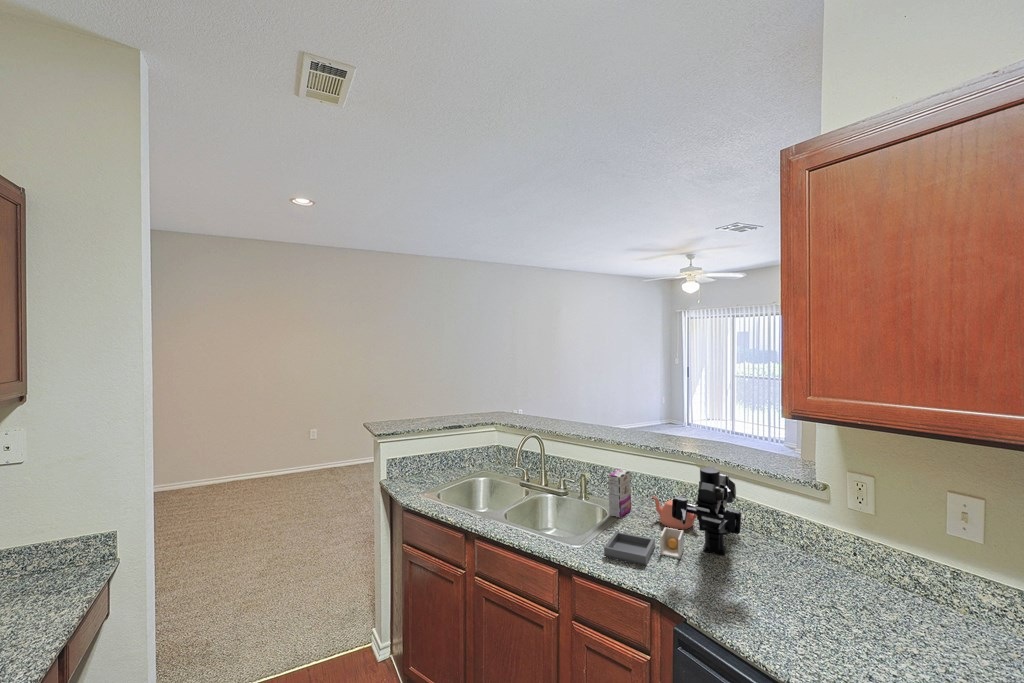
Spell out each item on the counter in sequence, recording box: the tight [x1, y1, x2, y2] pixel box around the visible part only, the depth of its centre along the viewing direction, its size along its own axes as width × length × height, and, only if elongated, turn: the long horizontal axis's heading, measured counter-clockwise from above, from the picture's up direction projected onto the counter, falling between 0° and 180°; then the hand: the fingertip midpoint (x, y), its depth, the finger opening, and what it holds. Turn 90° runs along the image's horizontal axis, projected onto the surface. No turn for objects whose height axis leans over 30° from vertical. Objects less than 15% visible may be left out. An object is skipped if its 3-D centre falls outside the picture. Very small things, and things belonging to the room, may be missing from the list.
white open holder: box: [659, 526, 685, 560], centre depth 144 cm, size 8×6×6 cm
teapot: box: [651, 494, 697, 530], centre depth 168 cm, size 12×18×10 cm
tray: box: [603, 531, 656, 567], centre depth 144 cm, size 14×13×3 cm
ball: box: [668, 538, 678, 549], centre depth 145 cm, size 3×3×3 cm
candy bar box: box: [608, 468, 632, 519], centre depth 179 cm, size 11×5×16 cm, turn 143°
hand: (700, 526), depth 124 cm, fingers open, 9 cm apart
